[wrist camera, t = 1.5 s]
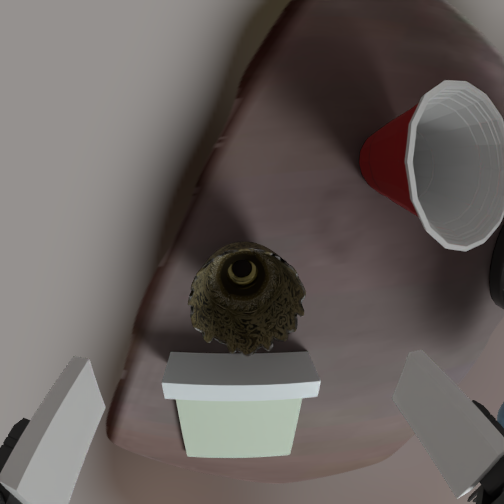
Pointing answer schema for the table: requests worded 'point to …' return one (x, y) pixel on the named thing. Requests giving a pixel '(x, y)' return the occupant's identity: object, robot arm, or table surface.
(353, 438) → the table surface
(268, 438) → the green pad
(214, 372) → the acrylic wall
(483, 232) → the plastic cup
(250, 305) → the cup
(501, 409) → the robot arm
